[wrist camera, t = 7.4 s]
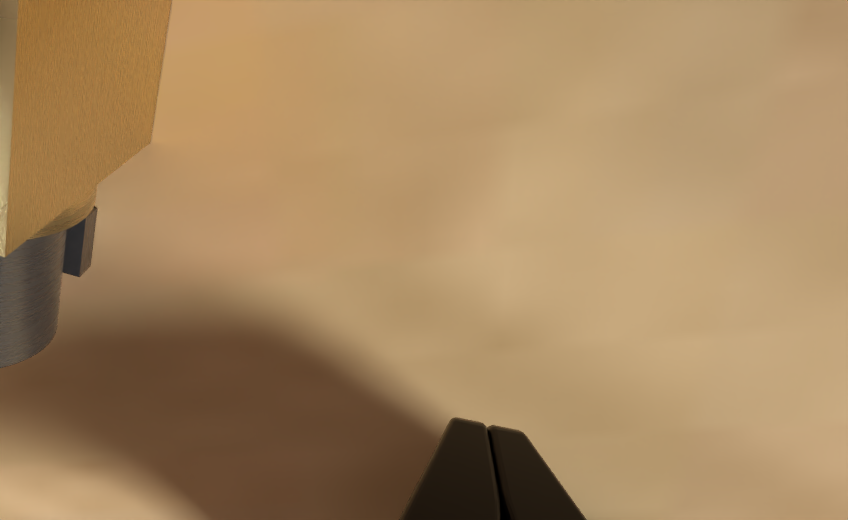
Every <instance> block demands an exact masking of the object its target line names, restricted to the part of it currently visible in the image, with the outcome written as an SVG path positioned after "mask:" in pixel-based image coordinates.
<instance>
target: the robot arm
mask: <svg viewBox="0 0 848 520" xmlns="http://www.w3.org/2000/svg"><path fill="white" fill-rule="evenodd" d="M399 520H586V518H585V517H584V515H583V514H582V513H581V511H580V510H579V509H578V507H577V506H576V504H575V503H574V502H573V500H572V499H571V497H570V496H569V495H568V493H567V492H566V490H565V489H564V488H563V486H562V485H561V483H560V482H559V481H558V479H557V478H556V476H555V475H554V474H553V472H552V471H551V469H550V468H549V467H548V465H547V464H546V463H545V461H544V460H543V458H542V457H541V456H540V454H539V453H538V451H537V450H536V449H535V447H534V446H533V444H532V443H531V442H530V440H529V439H528V437H527V436H526V435H525V434H524V433H523V432H521V431H519V430H515V429H510V428H505V427H500V426H495V425H491V426H489V427H486V426H485V425H484V424H483V423H481V422H476V421H471V420H467V419H462V418H453V419H451V420H450V422H449V424H448V425H447V427H446V429H445V431H444V433H443V435H442V437H441V439H440V441H439V443H438V445H437V447H436V449H435V451H434V453H433V455H432V456H431V458H430V460H429V462H428V464H427V466H426V468H425V470H424V472H423V474H422V476H421V478H420V480H419V482H418V484H417V486H416V487H415V489H414V491H413V493H412V495H411V497H410V499H409V501H408V503H407V505H406V507H405V509H404V511H403V513H402V515H401V517H400V518H399Z"/></svg>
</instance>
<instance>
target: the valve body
mask: <svg viewBox="0 0 848 520" xmlns="http://www.w3.org/2000/svg"><path fill="white" fill-rule="evenodd" d="M170 7H171V0H0V368H2V367H6V366H10V365H13V364H16V363H19V362H21V361H23V360H26V359H28V358H30V357H32V356H34V355H35V354H37V353H38V352H40V351H41V350H43V349H44V348H45V347H46V346H47V345H48V344H49V343H50V342H51V340H52V339H53V337H54V335H55V333H56V330H57V324H58V313H59V303H60V293H61V283H62V272H64V273H67V274H71V275H74V276H78V277H80V276H81V275H82V274H83V273H84V272H85V271H86V270H87V269H88V268H89V267H90V265H91V257H92V248H93V240H94V231H95V223H96V215H97V208H94V205H95V200H96V191H97V184H99V183H100V182H101V181H102V180H104V179H105V178H106V177H107V176H109V175H110V174H111V173H112V172H114V171H115V170H116V169H118V168H119V167H120V166H121V165H123V164H124V163H125V162H126V161H128V160H129V159H130V158H131V157H133V156H134V155H135V154H137V153H138V152H139V151H140V150H142V149H143V148H144V147H145V146H147V145H148V144H149V143H150V140H151V133H152V126H153V120H154V113H155V106H156V100H157V93H158V87H159V80H160V73H161V67H162V60H163V53H164V47H165V40H166V33H167V27H168V20H169V13H170Z"/></svg>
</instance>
